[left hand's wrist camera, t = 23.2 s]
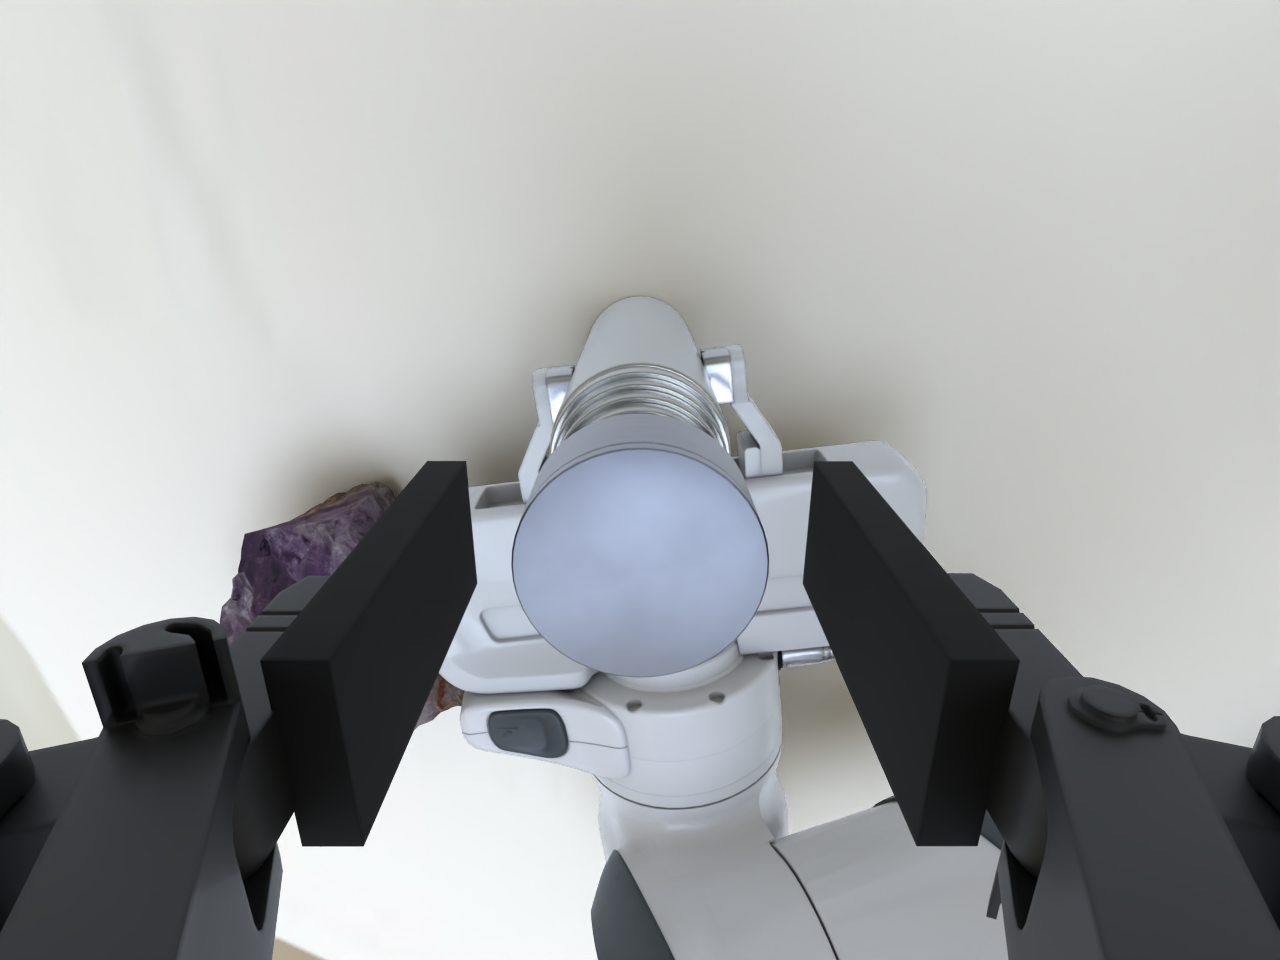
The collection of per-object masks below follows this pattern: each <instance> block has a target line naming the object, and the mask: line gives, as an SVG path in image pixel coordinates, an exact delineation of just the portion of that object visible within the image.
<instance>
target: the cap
mask: <svg viewBox="0 0 1280 960" xmlns="http://www.w3.org/2000/svg"><path fill="white" fill-rule="evenodd" d="M511 567H512V577H513V583H514V587H515V591H516V595H517V597H518V600H519V602H520V605H521V607H522V609H523V611H524V613H525V614H526V616H527V618H528V619H529V621H530V623H531V624H532V625H533V627H534V628H535V629H536V630H537V632H538V633H539V634H540V635H541V636H542V637H543V638H544V639H545V640H546V641H547V642H548V643H549V644H550V645H551V646H552V647H554V648H555V649H556V650H558V651H559V652H560V653H561V654H563V655H565V656H566V657H568V658H570V659H571V660H573V661H575V662H577V663H579V664H581V665H583V666H586V667H588V668H590V669H593V670H597V671H600V672H603V673H607V674H612V675H617V676H624V677H656V676H663V675H669V674H673V673H677V672H681V671H684V670H687V669H690V668H692V667H695V666H698V665H700V664H701V663H703V662H705V661H707V660H709V659H711V658H713V657H714V656H716V655H717V654H719V653H720V652H722V651H723V650H724V649H726V648H727V647H728V646H729V645H730V644H731V643H733V642H734V641H735V640H736V639H737V638H738V637H739V636H740V634H741V633H742V632H743V631H744V630H745V629H746V627H747V626H748V624H749V623H750V622H751V620H752V619H753V617H754V616H755V614H756V612H757V610H758V608H759V606H760V604H761V601H762V598H763V595H764V593H765V590H766V585H767V580H768V575H769V552H768V543H767V540H766V536H765V532H764V528H763V526H762V523H761V521H760V518H759V515H758V513H757V510H756V508H755V505H754V503H753V500H752V497H751V495H750V492H749V490H748V487H747V484H746V482H745V480H744V477H743V475H742V473H741V471H740V469H739V468H738V466H737V464H736V463H735V461H734V459H733V458H732V457H731V456H730V455H729V453H728V452H727V451H726V450H725V449H724V448H723V447H722V446H721V445H720V444H719V443H718V442H717V441H716V440H715V439H714V438H712V437H711V436H709V435H708V434H707V433H705V432H704V431H702V430H700V429H698V428H697V427H695V426H693V425H691V424H689V423H686V422H684V421H681V420H678V419H675V418H671V417H667V416H663V415H656V414H646V413H638V414H624V415H618V416H613V417H609V418H606V419H602V420H599V421H597V422H594V423H592V424H590V425H587V426H585V427H584V428H582V429H580V430H579V431H577V432H575V433H574V434H572V435H571V436H570V437H568V438H567V439H566V440H565V441H563V442H562V443H561V444H560V445H559V446H558V447H557V448H556V449H555V450H554V451H553V452H552V453H551V455H550V456H549V458H548V459H547V460H546V462H545V463H544V465H543V466H542V468H541V470H540V472H539V474H538V476H537V478H536V480H535V483H534V486H533V488H532V491H531V493H530V496H529V499H528V501H527V504H526V506H525V509H524V512H523V514H522V517H521V519H520V522H519V525H518V528H517V531H516V533H515V537H514V542H513V547H512V560H511Z"/></svg>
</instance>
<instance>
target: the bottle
mask: <svg viewBox="0 0 1280 960" xmlns="http://www.w3.org/2000/svg"><path fill="white" fill-rule="evenodd" d="M638 413H646V414H656V415H663V416H667V417H671V418H675V419H678V420H681V421H684V422H686V423H689V424H691V425H693V426H695V427H697V428H698V429H700V430H702V431H704V432H705V433H707V434H708V435H709V436H711V437H712V438H714V439H715V440H716V441H717V442H718V443H719V444H720V445H721V446H722V447H723V448H724V449H725V450H726V451H727V452H728V453H729V455H730V456H731V446H730V435H729V431H728V426H727V423H726V420H725V418H724V415H723V413H722V410H721V408H720V405H719V403H718V400H717V398H716V395H715V393H714V390H713V388H712V385H711V383H710V381H709V378H708V376H707V373H706V371H705V368H704V366H703V363H702V361H701V358H700V356H699V354H698V351H697V349H696V346H695V344H694V341H693V339H692V336H691V334H690V331H689V329H688V326H687V325H686V323H685V321H684V319H683V318H682V317H681V315H680V314H679V313H678V312H677V311H676V310H675V309H674V308H672V307H671V306H670V305H668V304H667V303H665V302H663V301H661V300H658V299H655V298H652V297H645V296H634V297H628V298H625V299H622V300H619V301H617V302H615V303H613V304H612V305H610V306H609V307H608V308H606V309H605V310H604V311H603V312H602V313H601V314H600V315H599V317H598V318H597V319H596V321H595V323H594V325H593V326H592V329H591V331H590V334H589V336H588V339H587V341H586V344H585V346H584V349H583V351H582V354H581V356H580V359H579V361H578V363H577V366H576V368H575V371H574V373H573V376H572V378H571V381H570V383H569V386H568V388H567V391H566V393H565V396H564V398H563V401H562V403H561V406H560V408H559V411H558V413H557V416H556V418H555V421H554V423H553V427H552V432H551V437H550V450H549V456H550V455H551V453H552V452H553V451H554V450H555V449H556V448H557V447H558V446H559V445H560V444H561V443H562V442H563V441H565V440H566V439H567V438H568V437H570V436H571V435H572V434H574V433H575V432H577V431H579V430H580V429H582V428H584V427H585V426H587V425H590V424H592V423H594V422H597V421H599V420H602V419H606V418H609V417H613V416H618V415H624V414H638Z"/></svg>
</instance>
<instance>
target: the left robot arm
mask: <svg viewBox="0 0 1280 960" xmlns="http://www.w3.org/2000/svg"><path fill="white" fill-rule="evenodd" d="M476 586H477V574H476V563H475V552H474V541H473V531H472V520H471V509H470V499H469V488H468V477H467V466H466V461H427V462H426V463H425V465H424V466H423V467H422V468H421V469H420V471H419V472H418V473H417V474H416V475H415V477H414V478H413V479H412V480H411V481H410V483H409V484H408V485H407V486H406V487H405V488H404V490H403V491H402V492H401V493H400V494H399V496H398V497H397V498H396V499H395V500H394V502H393V503H392V504H391V505H390V506H389V508H388V509H387V510H386V511H385V512H384V513H383V515H382V516H381V517H380V518H379V519H378V521H377V522H376V523H375V524H374V525H373V527H372V528H371V529H370V530H369V531H368V532H367V534H366V535H365V536H364V537H363V538H362V540H361V541H360V542H359V543H358V544H357V546H356V547H355V548H354V549H353V550H352V552H351V553H350V554H349V555H348V556H347V557H346V559H345V560H344V561H343V562H342V563H341V565H340V566H339V567H338V568H337V569H336V571H335V572H334V573H333V574H332V575H331V576H307V577H305V578H303V579H302V580H300V581H298V582H296V583H295V584H293V585H291V586H289V587H288V588H286V589H284V590H283V591H281V592H279V593H278V594H277V595H276V597H275V598H274V599H273V600H272V601H271V602H270V603H269V604H268V605H267V606H266V607H265V608H264V609H263V610H262V611H261V615H258V616H257V617H256V618H255V619H254V620H253V621H252V622H251V623H250V624H249V625H248V626H247V627H246V632H242V633H241V634H240V635H239V636H238V637H237V638H236V639H235V640H234V641H233V642H232V643H231V644H230V646H229V644H228V640H227V636H226V632H225V628H224V627H223V626H222V625H220V624H219V623H217V622H216V621H214V620H211V619H205V618H198V617H187V618H174V619H167V620H163V621H159V622H155V623H151V624H146V625H143V626H140V627H138V628H135V629H133V630H130V631H128V632H125V633H123V634H120V635H118V636H116V637H114V638H113V639H111V640H109V641H108V642H106V643H104V644H103V645H101V646H99V647H98V648H96V649H95V650H94V651H93V652H92V653H91V654H90V655H89V656H88V657H87V658H86V659H85V660H84V661H83V662H82V665H83V668H84V671H85V674H86V677H87V680H88V683H89V686H90V689H91V692H92V695H93V698H94V701H95V704H96V707H97V710H98V713H99V716H100V719H101V722H102V725H103V729H102V731H101V733H100V735H99V737H97V738H93V739H88V740H83V741H78V742H73V743H69V744H63V745H59V746H54V747H49V748H44V749H39V750H34V751H29V752H28V749H27V747H26V744H25V742H24V739H23V737H22V734H21V731H20V729H19V727H18V726H16V725H15V724H13V723H11V722H10V721H8V720H3V719H0V960H272V954H273V946H274V938H275V929H276V921H277V913H278V905H279V897H280V889H281V881H282V872H283V870H282V864H281V857H280V853H279V849H278V845H277V841H278V839H279V837H280V835H281V834H282V832H283V830H284V828H285V827H286V825H287V823H288V821H289V820H290V818H291V816H292V814H293V813H294V812H295V817H296V821H297V825H298V830H299V834H300V838H301V843H302V846H364V844H365V842H366V840H367V837H368V835H369V833H370V830H371V828H372V826H373V823H374V821H375V819H376V817H377V814H378V812H379V810H380V807H381V805H382V803H383V800H384V798H385V796H386V793H387V791H388V789H389V787H390V784H391V782H392V780H393V777H394V775H395V773H396V770H397V768H398V766H399V763H400V761H401V759H402V756H403V754H404V752H405V750H406V747H407V745H408V743H409V740H410V738H411V736H412V733H413V731H414V729H415V726H416V724H417V722H418V720H419V717H420V715H421V713H422V710H423V708H424V706H425V703H426V701H427V699H428V696H429V694H430V692H431V690H432V687H433V685H434V683H435V680H436V678H437V676H438V673H439V671H440V669H441V666H442V664H443V662H444V660H445V657H446V655H447V653H448V650H449V648H450V646H451V643H452V641H453V639H454V636H455V634H456V632H457V630H458V627H459V625H460V623H461V620H462V618H463V616H464V613H465V611H466V609H467V606H468V604H469V602H470V600H471V597H472V595H473V593H474V590H475V588H476ZM803 586H804V588H805V590H806V593H807V595H808V597H809V600H810V602H811V604H812V607H813V609H814V611H815V613H816V616H817V618H818V620H819V623H820V625H821V627H822V630H823V632H824V634H825V637H826V639H827V641H828V643H829V646H830V648H831V650H832V653H833V655H834V657H835V660H836V662H837V664H838V667H839V669H840V671H841V673H842V676H843V678H844V680H845V683H846V685H847V687H848V690H849V692H850V694H851V697H852V699H853V701H854V703H855V706H856V708H857V710H858V713H859V715H860V717H861V720H862V722H863V724H864V727H865V729H866V731H867V733H868V736H869V738H870V740H871V743H872V745H873V747H874V750H875V752H876V754H877V757H878V759H879V761H880V763H881V766H882V768H883V770H884V773H885V775H886V777H887V780H888V782H889V784H890V787H891V789H892V791H893V793H894V796H895V798H896V800H897V803H898V805H899V807H900V810H901V812H902V814H903V817H904V819H905V821H906V823H907V826H908V828H909V830H910V833H911V835H912V837H913V840H914V842H915V844H916V846H978V843H979V838H980V834H981V830H982V825H983V821H984V817H985V812H986V809H987V811H988V813H989V814H990V816H991V818H992V819H993V821H994V823H995V825H996V826H997V828H998V830H999V832H1000V833H1001V835H1002V837H1003V839H1004V840H1003V845H1002V849H1001V853H1000V857H999V861H998V865H997V869H996V873H995V877H994V881H993V885H992V890H991V894H990V898H989V902H988V908H987V914H986V917H989V918H992V919H995V920H996V919H997V915H998V911H999V907H1000V904H1001V903H1002V911H1003V919H1004V927H1005V936H1006V944H1007V952H1008V960H1280V716H1274V717H1273V718H1271V719H1269V720H1268V721H1266V722H1265V723H1263V724H1262V726H1261V729H1260V731H1259V734H1258V737H1257V739H1256V742H1255V744H1254V747H1253V748H1248V747H1243V746H1238V745H1233V744H1228V743H1223V742H1218V741H1213V740H1208V739H1203V738H1198V737H1193V736H1188V735H1184V734H1180V732H1179V730H1178V728H1177V726H1176V725H1175V724H1174V722H1173V721H1172V720H1171V719H1170V718H1169V716H1168V715H1167V714H1166V713H1165V711H1164V710H1162V709H1161V708H1159V707H1158V706H1157V705H1155V704H1154V703H1152V702H1151V701H1149V700H1148V699H1147V698H1145V697H1144V696H1142V695H1140V694H1137V693H1135V692H1133V691H1131V690H1129V689H1126V688H1124V687H1122V686H1120V685H1117V684H1113V683H1110V682H1106V681H1103V680H1099V679H1095V678H1088V677H1083V676H1082V675H1081V674H1080V673H1079V672H1078V671H1077V670H1076V669H1075V668H1074V667H1073V665H1072V664H1071V663H1070V662H1069V661H1068V660H1067V659H1066V658H1065V657H1064V656H1063V655H1062V654H1061V653H1060V652H1059V651H1058V650H1057V649H1056V648H1055V646H1054V645H1053V644H1052V643H1051V642H1050V641H1049V640H1048V639H1047V638H1046V637H1045V636H1044V635H1043V634H1042V633H1041V632H1040V631H1039V630H1038V629H1035V628H1034V624H1033V623H1032V622H1031V621H1030V620H1029V619H1028V618H1027V617H1026V616H1025V615H1024V614H1023V613H1019V608H1018V607H1017V606H1016V605H1015V604H1014V603H1013V602H1012V601H1011V600H1010V599H1009V598H1008V597H1007V596H1006V595H1005V594H1004V593H1003V591H1002V590H1000V589H999V588H997V587H995V586H993V585H992V584H990V583H988V582H986V581H985V580H983V579H981V578H979V577H978V576H976V575H974V574H972V573H946V572H945V571H944V569H943V568H942V567H941V566H940V565H939V563H938V562H937V561H936V560H935V559H934V557H933V556H932V555H931V554H930V553H929V552H928V550H927V549H926V548H925V547H924V546H923V544H922V543H921V542H920V541H919V540H918V538H917V537H916V536H915V535H914V534H913V533H912V531H911V530H910V529H909V528H908V527H907V525H906V524H905V523H904V522H903V521H902V519H901V518H900V517H899V516H898V515H897V513H896V512H895V511H894V510H893V509H892V508H891V506H890V505H889V504H888V503H887V502H886V500H885V499H884V498H883V497H882V496H881V494H880V493H879V492H878V491H877V490H876V488H875V487H874V486H873V485H872V484H871V483H870V481H869V480H868V479H867V478H866V477H865V475H864V474H863V473H862V472H861V471H860V469H859V468H858V467H857V466H856V465H855V464H854V462H853V461H814V466H813V477H812V488H811V498H810V509H809V520H808V531H807V541H806V552H805V563H804V573H803Z"/></svg>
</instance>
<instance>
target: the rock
mask: <svg viewBox="0 0 1280 960" xmlns="http://www.w3.org/2000/svg"><path fill="white" fill-rule="evenodd" d="M394 500H395V497H394V494H393V491H392V490H390V489H389V488H388V487H387V486H385V485H383V484H381V483H378V482H376V483H373V484H371V485H364V484H362V485H359V486H356V487H354V488H352V489H351V490H349V491H348V492H346V493H337V494H335V495H334V496H332V497H330V498H329V499H327V500H326V501H325V502H324V503H323V504H319V505H317V506H315V507H313V508H311V509H310V510H309V511H307V512H306V513H304V514H302V515H300V516H299V517H297V518H295V519H293V520H291V521H289V522H285V523H282V524H279V525H276V526H273V527H269V528H266V529H262V530H258V531H254V532H251V533H247V534H245V536H244V540H243V545H242V549H241V561H240V564H239V568H238V574H237V575H236V576H235V577H234V578H233V579H232V580H233V590H232V595H231V598H230V599H229V600H228V601H227V602H226V603H225V604H224V605H223V606H222V610H221V617H220V625H222V626H223V627H224V628H225V632H226V636H227V640H228V644H229V646H230V644H231V643H232V642H233V641H234V640H235V639H236V638H237V637H238V636H239V635H240V634H241V633H242V632H246V627H247V626H248V625H249V624H250V623H251V622H252V621H253V620H254V619H255V618H256V617H257V616H258V615H261V611H262V610H263V609H264V608H265V607H266V606H267V605H268V604H269V603H270V602H271V601H272V600H273V599H274V598H275V597H276V595H277V594H278V593H279V592H281V591H283V590H284V589H286V588H288V587H289V586H291V585H293V584H295V583H296V582H298V581H300V580H302V579H303V578H305V577H307V576H331V575H332V574H333V573H334V572H335V571H336V569H337V568H338V567H339V566H340V565H341V563H342V562H343V561H344V560H345V559H346V557H347V556H348V555H349V554H350V553H351V552H352V550H353V549H354V548H355V547H356V546H357V544H358V543H359V542H360V541H361V540H362V538H363V537H364V536H365V535H366V534H367V532H368V531H369V530H370V529H371V528H372V527H373V525H374V524H375V523H376V522H377V521H378V519H379V518H380V517H381V516H382V515H383V513H384V512H385V511H386V510H387V509H388V508H389V506H390V505H391V504H392V503H393V502H394ZM464 692H465V690H462V689H460V688H457V687H456V686H454V685H452V684H451V683H449V682H448V681H447V680H445V679H444V678H443V677H442V676H441V675H440V674H439V673H438V676H437V678H436V680H435V683H434V685H433V687H432V690H431V692H430V694H429V696H428V699H427V701H426V703H425V706H424V708H423V710H422V713H421V715H420V717H419V720H418V722H417V724H416V726H415V729H416V728H417V727H418V726H419V725H421V724H425V723H427V722H429V721H431V720H433V719H434V718H435V717H436V716H437V715H438V714H439V713H440V712H443V711H445V710H448V709H450V708H452V707H455V706H462V701H463V696H464ZM415 729H414V730H415Z"/></svg>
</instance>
